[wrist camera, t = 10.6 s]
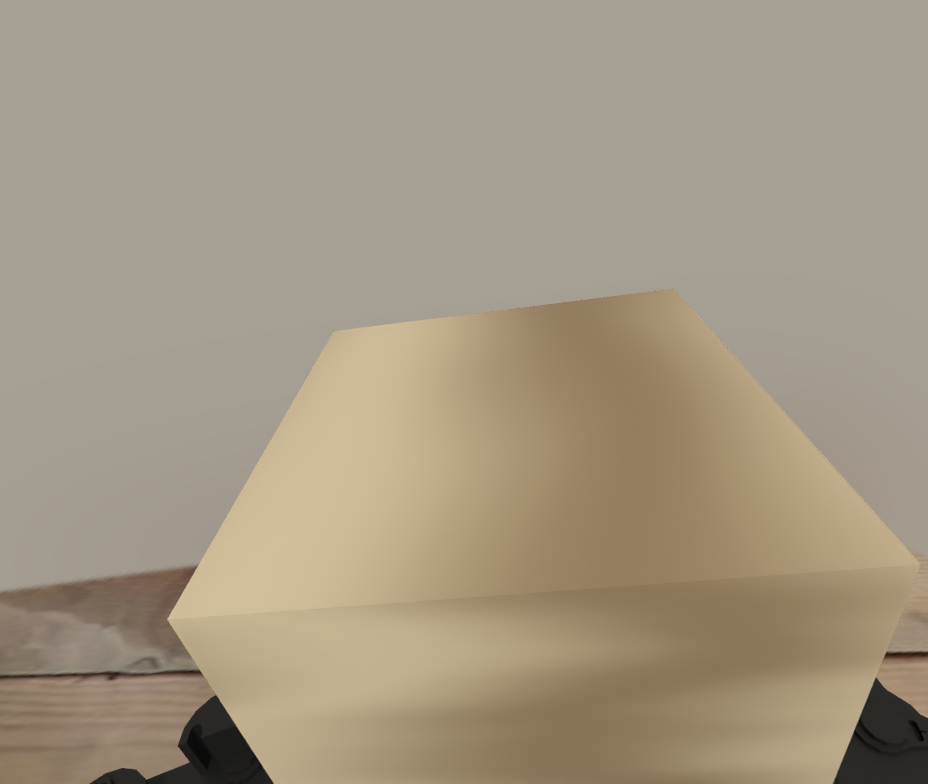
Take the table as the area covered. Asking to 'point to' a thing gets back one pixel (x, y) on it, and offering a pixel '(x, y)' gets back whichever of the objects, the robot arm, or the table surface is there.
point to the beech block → (544, 564)
